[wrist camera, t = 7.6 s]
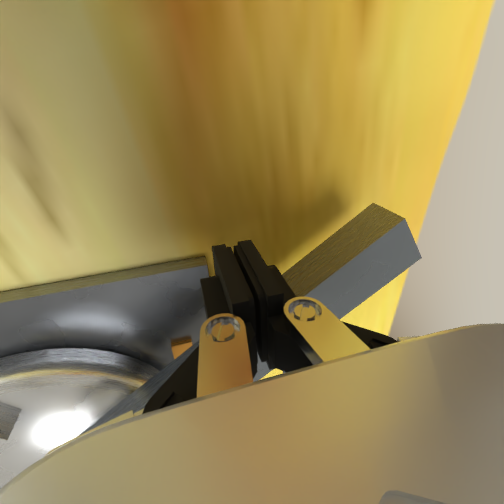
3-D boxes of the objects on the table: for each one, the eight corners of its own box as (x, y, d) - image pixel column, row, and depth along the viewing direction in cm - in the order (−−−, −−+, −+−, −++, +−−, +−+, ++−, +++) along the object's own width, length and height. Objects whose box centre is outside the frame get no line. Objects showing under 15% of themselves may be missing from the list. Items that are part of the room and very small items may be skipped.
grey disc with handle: (289, 86, 12) (346, 80, 8) (393, 279, 19) (449, 323, 15) (-151, 467, 15) (-257, 593, 11) (86, 509, 22) (71, 593, 18)
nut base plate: (-277, 341, 12) (-323, 366, 11) (204, 256, 16) (207, 267, 15) (-23, 530, 22) (-33, 553, 20) (234, 446, 26) (237, 462, 25)
